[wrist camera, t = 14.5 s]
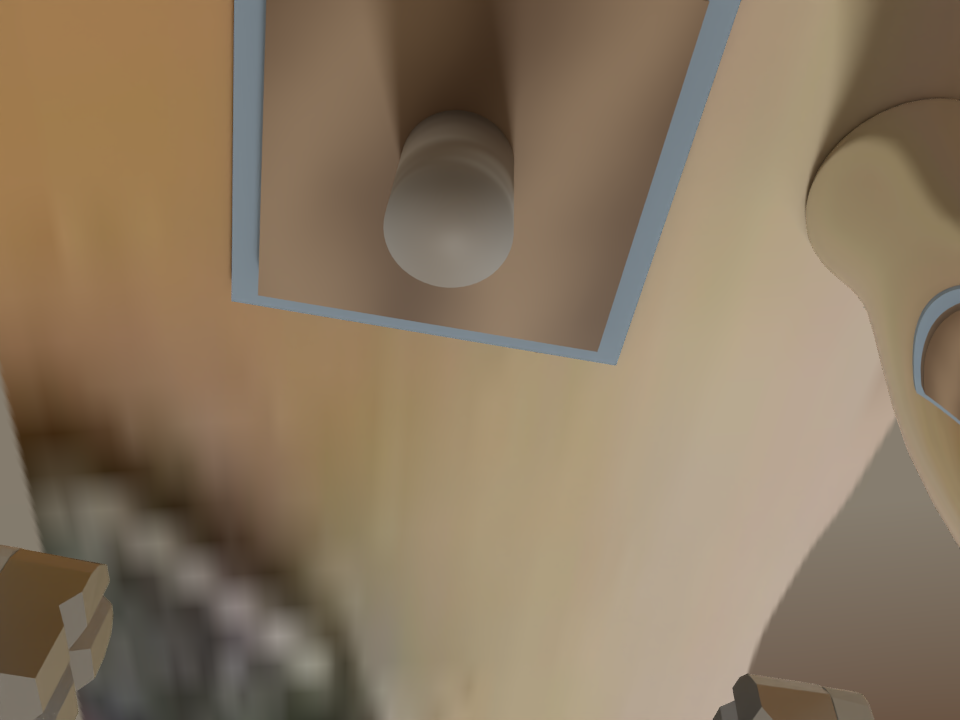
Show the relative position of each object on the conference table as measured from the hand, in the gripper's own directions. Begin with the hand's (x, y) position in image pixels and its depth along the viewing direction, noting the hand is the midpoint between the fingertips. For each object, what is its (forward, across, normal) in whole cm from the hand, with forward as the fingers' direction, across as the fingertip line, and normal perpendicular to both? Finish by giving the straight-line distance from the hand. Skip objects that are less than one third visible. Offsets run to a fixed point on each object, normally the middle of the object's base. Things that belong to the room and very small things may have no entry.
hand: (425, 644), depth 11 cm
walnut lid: (+17, +1, +1) cm, 17 cm away
